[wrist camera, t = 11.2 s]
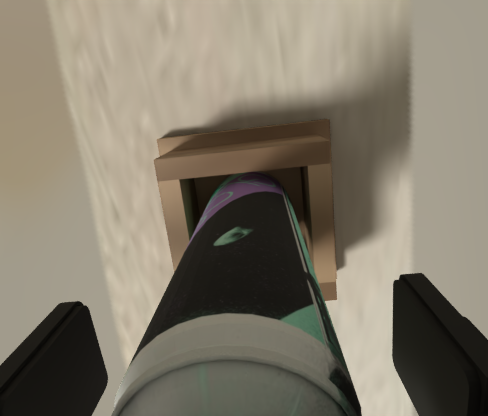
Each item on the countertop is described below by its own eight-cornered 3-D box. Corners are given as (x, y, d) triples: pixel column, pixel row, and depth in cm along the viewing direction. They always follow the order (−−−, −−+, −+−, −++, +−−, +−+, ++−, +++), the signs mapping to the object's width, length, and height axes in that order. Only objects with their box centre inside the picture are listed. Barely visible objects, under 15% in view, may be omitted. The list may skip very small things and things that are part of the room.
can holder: (160, 138, 24) (136, 146, 19) (326, 119, 23) (344, 123, 18) (186, 284, 27) (171, 324, 22) (333, 272, 26) (350, 310, 21)
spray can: (247, 152, 23) (194, 416, 4) (308, 207, 24) (526, 653, 4) (193, 212, 24) (-57, 641, 5) (253, 262, 25) (240, 791, 6)
